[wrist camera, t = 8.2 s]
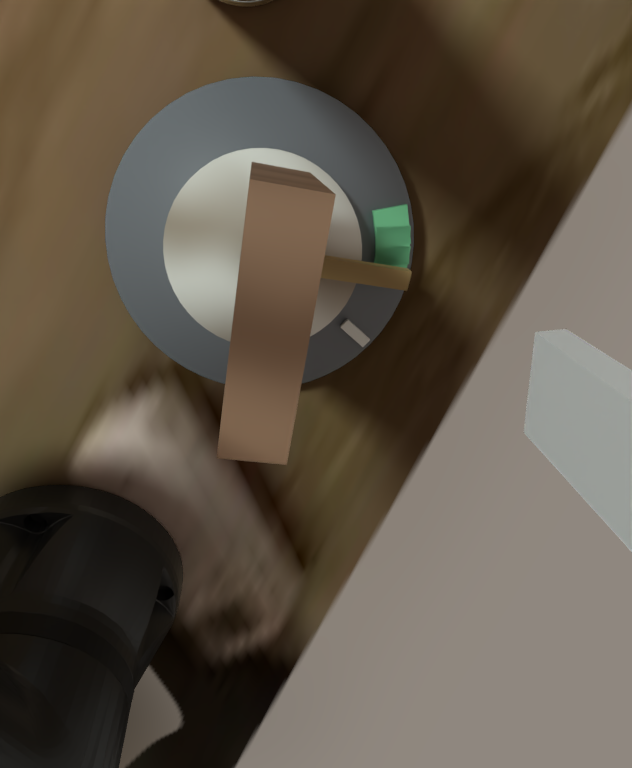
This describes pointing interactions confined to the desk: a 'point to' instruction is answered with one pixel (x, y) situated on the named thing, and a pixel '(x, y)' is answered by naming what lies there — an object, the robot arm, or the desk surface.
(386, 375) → the desk surface
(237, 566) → the desk surface
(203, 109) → the plate
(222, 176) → the dial
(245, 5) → the water bottle
